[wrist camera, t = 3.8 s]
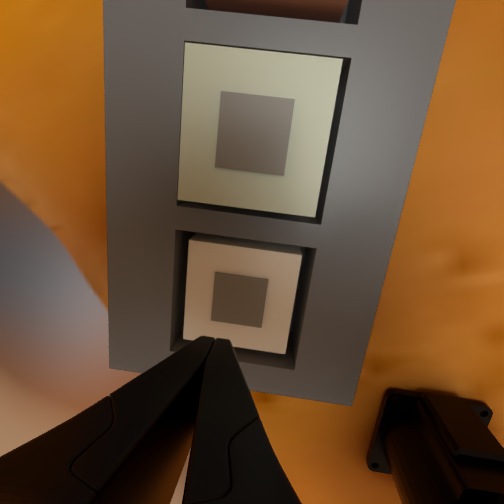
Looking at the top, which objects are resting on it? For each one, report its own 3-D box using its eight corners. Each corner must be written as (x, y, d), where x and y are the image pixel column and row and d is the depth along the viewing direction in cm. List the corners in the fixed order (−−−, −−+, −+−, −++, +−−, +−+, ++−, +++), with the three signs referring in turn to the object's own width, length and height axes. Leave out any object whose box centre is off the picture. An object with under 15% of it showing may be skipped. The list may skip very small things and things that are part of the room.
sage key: (307, 206, 14) (315, 218, 11) (198, 192, 14) (176, 200, 11) (328, 82, 13) (343, 57, 10) (206, 69, 13) (183, 40, 10)
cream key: (284, 323, 18) (285, 356, 15) (198, 310, 18) (182, 340, 15) (298, 238, 16) (302, 256, 13) (204, 226, 17) (188, 240, 14)
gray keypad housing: (334, 347, 20) (352, 406, 15) (149, 319, 20) (109, 368, 16) (438, -125, 13) (529, -288, 8) (161, -146, 14) (98, -310, 9)
